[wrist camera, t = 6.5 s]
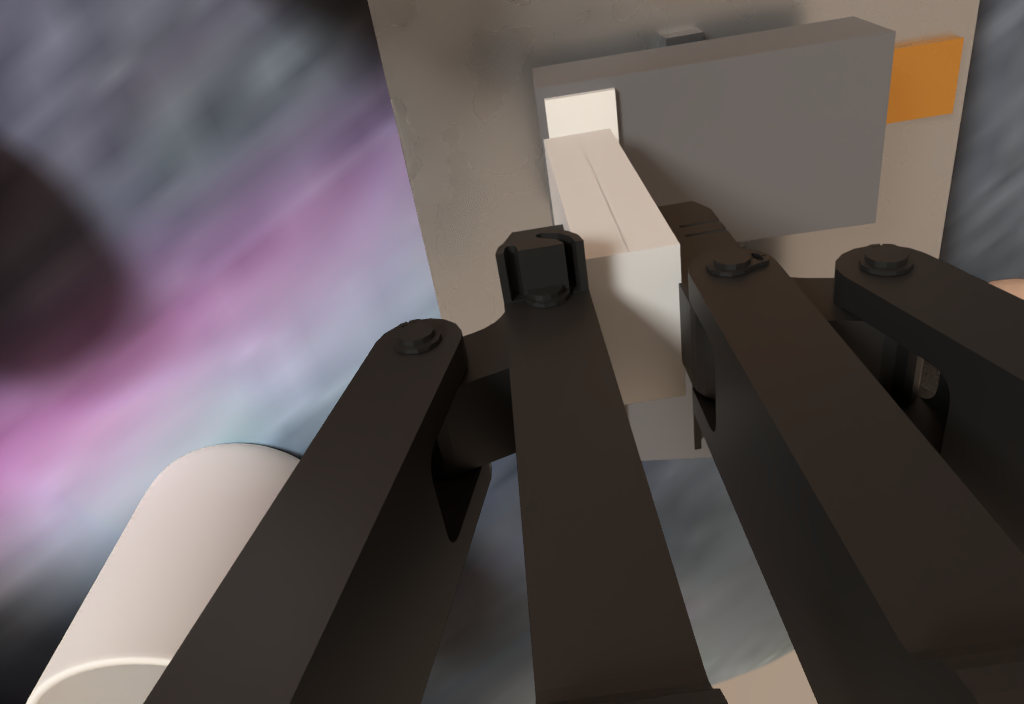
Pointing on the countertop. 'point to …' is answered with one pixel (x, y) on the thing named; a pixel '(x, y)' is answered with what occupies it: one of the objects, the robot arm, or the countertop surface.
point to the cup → (163, 573)
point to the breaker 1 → (666, 428)
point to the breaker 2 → (742, 122)
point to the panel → (616, 30)
